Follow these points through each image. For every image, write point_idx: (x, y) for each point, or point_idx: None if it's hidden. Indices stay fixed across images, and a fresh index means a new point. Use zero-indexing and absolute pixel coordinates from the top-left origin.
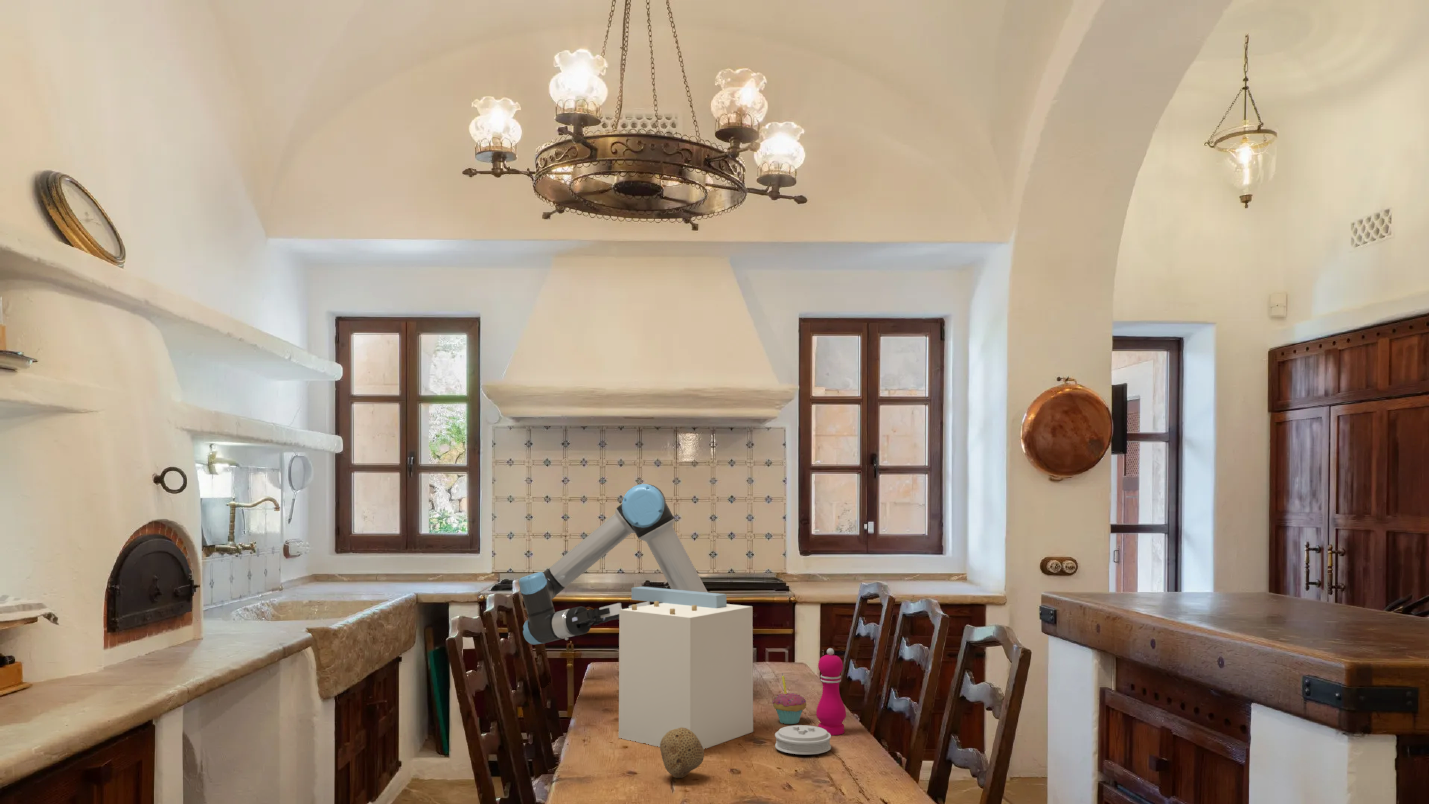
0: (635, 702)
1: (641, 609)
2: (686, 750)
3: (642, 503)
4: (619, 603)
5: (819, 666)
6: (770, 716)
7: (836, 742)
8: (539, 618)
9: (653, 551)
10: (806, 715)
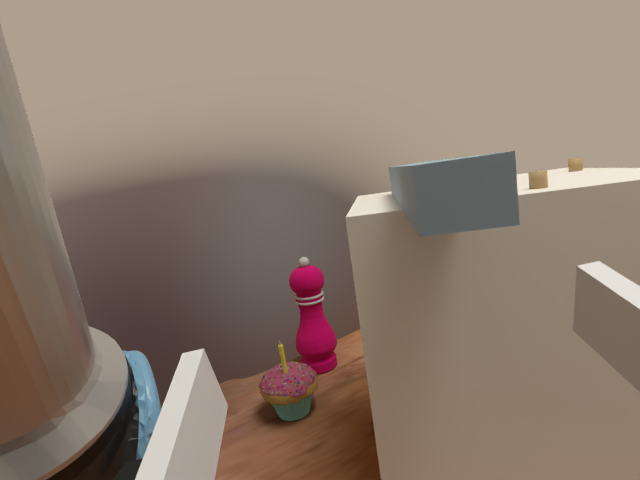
0: None
1: (628, 174)
2: None
3: None
4: (596, 264)
5: (319, 281)
6: (269, 444)
7: (360, 348)
8: None
9: None
10: (239, 415)
